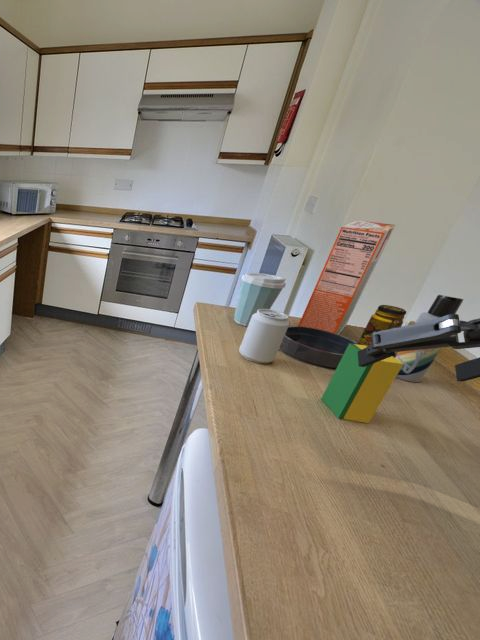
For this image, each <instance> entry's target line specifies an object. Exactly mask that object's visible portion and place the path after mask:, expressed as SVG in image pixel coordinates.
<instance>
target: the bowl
mask: <svg viewBox="0 0 480 640" xmlns="http://www.w3.org/2000/svg"><path fill="white" fill-rule="evenodd" d="M349 343H351V344H358V345H360V344H359V343H358V341H355V340H353V339H351V338H348V337H346V336H344V335H341V334H339V335H338V334H335V333H331V332H328V331H324V330H320V329H315V328H310V327H302V326H298V325H291V326H290V325H289V326H288V329H287V331H286V333H285V336H284V338H283V340H282V343H281V345H280V347H279V350H281V351H282V352H284V353H286V354H287V355H288V356H290V357H292V358H294V359H297V360H299V361H303V362H305V363H308V364H312V365H315V366H318V367H319V366H320V367H323V368H329V369H336V368H337V366H338V365H339V363H340V361H341V359H342V357H343V355H344V353H345V351H346V349H347V347H348V345H349Z"/></svg>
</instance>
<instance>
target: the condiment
mask: <svg viewBox="0 0 480 640" xmlns="http://www.w3.org/2000/svg"><path fill="white" fill-rule="evenodd" d="M406 314H407V311H406V309H404V308H402V307H399V306H394V305H389V304H379V306H377V309H376V310H375V313H373V314H372V315H371V316H370V318H369V320H368V321H367V324H366V326H365V328H364V330H363V331H362V333H361V335H360V337H359V340H358V341H357V343H359V344H360V345H365V346H369V345H372V335H371V334H372V333H374V332H379V331H383V330H388V329H393V328H397V327H402V326H403V325H404V319H405V315H406ZM397 354H398V352H395V355H394V356H397Z"/></svg>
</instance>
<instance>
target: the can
mask: <svg viewBox="0 0 480 640" xmlns="http://www.w3.org/2000/svg"><path fill="white" fill-rule="evenodd" d="M289 317H290V316H289V315H288V314H286V313H284V312H282V311H278V310H274V309H271V308H270V309H259V310H257V313H255V314H253V315H252V317H251V320H250V322H249V325H248V327H247V328H246V330H245V333H244V335H243V338H242V340H241V344H240V346H239V350H238V352H239V354H240V355H241V357H242V358H243V359H245V360H248V361H250V362H253V363H257V364H269V363H272V362H274V361H275V359H276V356H277V354H278V351H279V350H280V348H279V347H280V345H281V343H282V340H283V338H284V336H285V333H286V331H287V329H288V326H290V322H289V320H288V319H289Z"/></svg>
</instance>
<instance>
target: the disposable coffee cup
mask: <svg viewBox="0 0 480 640" xmlns="http://www.w3.org/2000/svg"><path fill="white" fill-rule="evenodd" d="M240 279H241V280H240V286H239V291H238V295H237V302H236V305H235V306H236V307H235V311H234V315H233V319H234V322H235V323H236V324H238V325H241V326H244V327H247V328H248V325H249V322H250V320H251V317H252V315H253V314H255V313H257V310H259V309H270V310H271V308H272V306H273V305H274V303H275V301H276V300H277V299H278V298H279V295H280V293H281V292H282V291H283V289H285V288H286V284H287V283H286V282H285V281H286V278H285V277H283V276H280V275H279V276H278V275H274V274H269V273H262V272H261V273H260V272H246V273H245V274H243V275H242V276H241V278H240Z"/></svg>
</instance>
